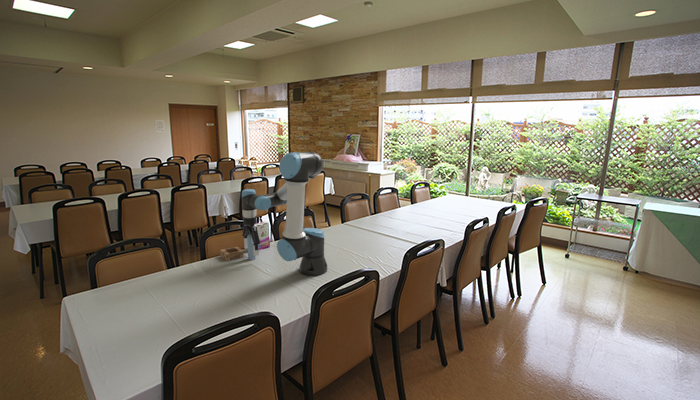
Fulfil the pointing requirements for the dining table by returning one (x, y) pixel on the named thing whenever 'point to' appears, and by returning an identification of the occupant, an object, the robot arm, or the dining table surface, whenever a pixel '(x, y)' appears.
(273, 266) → the dining table surface
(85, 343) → the dining table surface
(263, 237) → the candy bar box
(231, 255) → the wooden square frame
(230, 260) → the mat
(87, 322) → the dining table surface
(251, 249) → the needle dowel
